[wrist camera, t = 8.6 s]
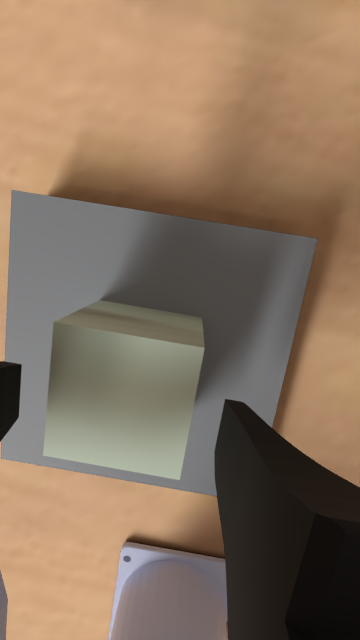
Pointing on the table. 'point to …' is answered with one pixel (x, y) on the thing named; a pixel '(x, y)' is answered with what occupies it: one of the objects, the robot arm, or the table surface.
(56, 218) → the stacking base
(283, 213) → the table surface
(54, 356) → the sage green cube
